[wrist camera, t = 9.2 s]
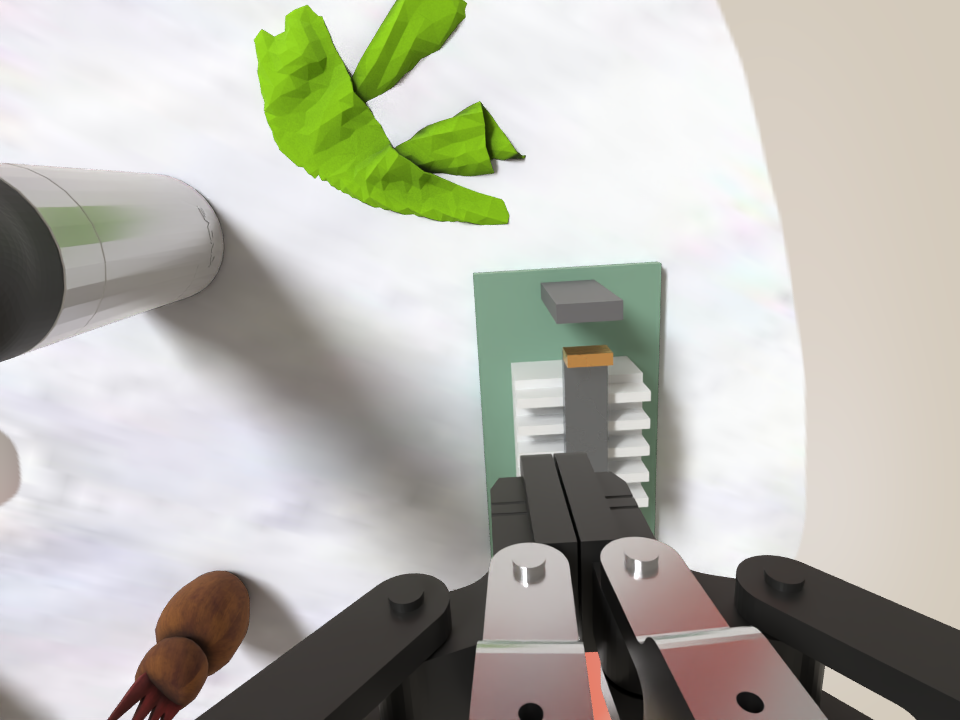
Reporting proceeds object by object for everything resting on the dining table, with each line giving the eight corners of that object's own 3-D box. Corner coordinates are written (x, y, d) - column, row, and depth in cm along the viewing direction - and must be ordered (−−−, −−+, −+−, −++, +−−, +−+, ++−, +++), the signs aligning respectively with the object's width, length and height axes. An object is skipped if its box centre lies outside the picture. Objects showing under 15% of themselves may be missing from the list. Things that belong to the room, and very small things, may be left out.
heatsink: (491, 556, 50) (494, 641, 41) (473, 273, 44) (471, 294, 34) (650, 548, 50) (691, 631, 41) (657, 261, 43) (708, 280, 34)
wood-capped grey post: (607, 587, 43) (615, 610, 40) (564, 589, 43) (569, 613, 40) (607, 342, 37) (616, 352, 35) (558, 345, 37) (563, 355, 35)
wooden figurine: (180, 566, 51) (62, 713, 36) (242, 551, 50) (147, 694, 36) (209, 627, 52) (108, 791, 38) (269, 614, 52) (189, 774, 38)
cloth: (213, 32, 40) (197, 22, 37) (501, -124, 37) (502, -146, 35) (352, 297, 45) (345, 303, 42) (613, 175, 42) (621, 174, 40)
